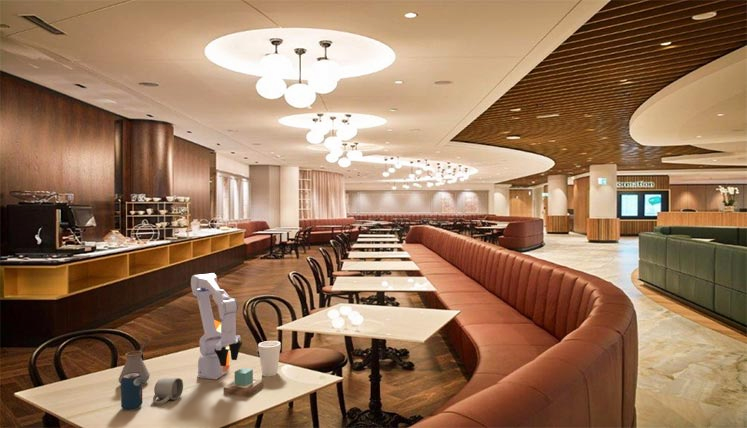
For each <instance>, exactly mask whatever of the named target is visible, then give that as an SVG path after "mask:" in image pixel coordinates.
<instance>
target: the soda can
mask: <svg viewBox="0 0 747 428" xmlns="http://www.w3.org/2000/svg"><path fill="white" fill-rule="evenodd" d="M120 404H121V405H120V406H121V408H122V410H123V411H126V412H131V411H136V410H138V409H139V408H141V407H142V404H143V385H142V377H141V375H140V373H139V372H131V373H127V374H124V375H123V378H122V380H121V384H120Z"/></svg>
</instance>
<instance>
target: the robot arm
mask: <svg viewBox="0 0 747 428" xmlns="http://www.w3.org/2000/svg"><path fill="white" fill-rule="evenodd" d="M190 286H191V291H192V296H194V297H196V298H197V304H198V307H199V313H200V319H201V322H202V327H203V332H204V334H202V336H201V337H200V338H199V352H200V356H199V358H198V361H197V362H198V363H197V370H198V371H197V374H198V375H197V376H196V377H197V378H199V379H200V378H202V379H209V380H210V379H211V380H218V379H220V378H221V377H223V376H224V375H226V374H227V371H223V367H227V366H226V364H227V355H228V352H229V353H230V358H231V361H237V360H238V356H239V351H240V349H241V346H242V345H243V341H242V339H241V338H242V337H241V335H237V323H236V322H237V320H236V319H237V318H236V317H237V316H236V313H238V311H239V302H238V301H237V299H236V298H232V297H230V295H229V294H228V293H227V292H226V290H224V289H223V288H222V289H221V288H220V286H219V285H218V276H217V274H215V272H210V273H203V274H193V275H192V276H191V279H190ZM210 295H212V300H213V301H214V302H215V304H216V305H217V309H218V313H219V314H218V315H219V318H220V323H221V333H220V332H218V331H217V330H216V326H215V322H214V320H215V318H214V313H213V310H212V309H213V308H212V304H211V299H210ZM228 345H229V349H226V346H228ZM222 366H223V367H222Z"/></svg>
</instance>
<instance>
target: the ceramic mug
mask: <svg viewBox="0 0 747 428" xmlns="http://www.w3.org/2000/svg"><path fill="white" fill-rule="evenodd" d="M153 391H154V396H153V397H152V402H153V403H154V404H155V405H157V406H160V405H163V404H165V403H166V402H168V401H169V400H172V401H173V400H174V401H176V400H178V399H180V397H181V396H182V394H183V391H184V382H183V379H181V377H163V378H160V379H158V380H157V382H156V383H155V385H154V390H153ZM157 398H159V399H161V400H159V401H158V400H157Z"/></svg>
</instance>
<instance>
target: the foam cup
mask: <svg viewBox="0 0 747 428" xmlns="http://www.w3.org/2000/svg"><path fill="white" fill-rule="evenodd" d="M281 346H282V345H281V342H280V341H278V340H266V341H265V340H264V341H262V342H259V343H258V345H257V347H258V349H257V350H258V354H259V361H260V367H261V374H262V376H263V377H273V376H277V375H278V371H279V370H278V369H279V361H280V360H279V359H280V354H281V353H280V351H281V348H282V347H281Z"/></svg>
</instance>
